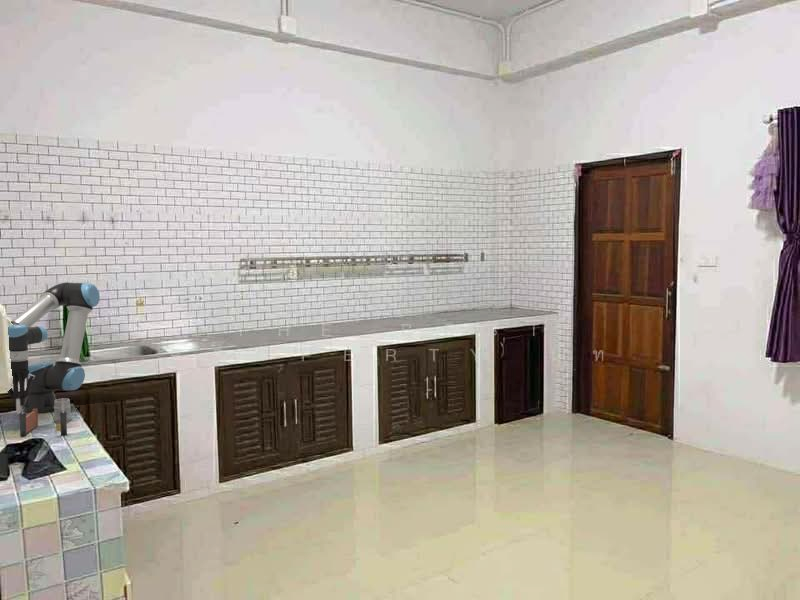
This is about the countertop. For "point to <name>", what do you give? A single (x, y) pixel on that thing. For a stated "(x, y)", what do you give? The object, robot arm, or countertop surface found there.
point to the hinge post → (22, 424)
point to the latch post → (62, 423)
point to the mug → (62, 409)
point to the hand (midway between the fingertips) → (19, 412)
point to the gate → (31, 420)
